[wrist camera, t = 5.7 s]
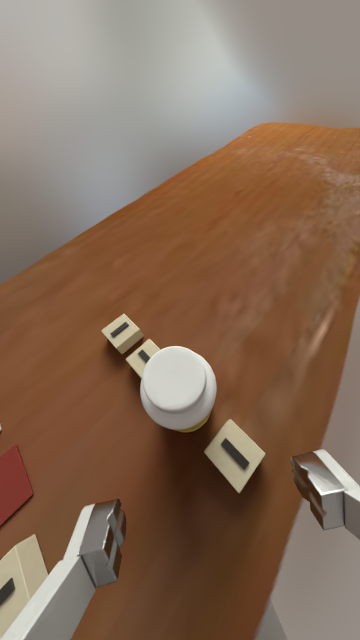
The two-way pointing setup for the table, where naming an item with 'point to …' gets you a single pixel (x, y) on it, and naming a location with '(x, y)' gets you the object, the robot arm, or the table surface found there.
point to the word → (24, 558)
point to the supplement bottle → (178, 389)
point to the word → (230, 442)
